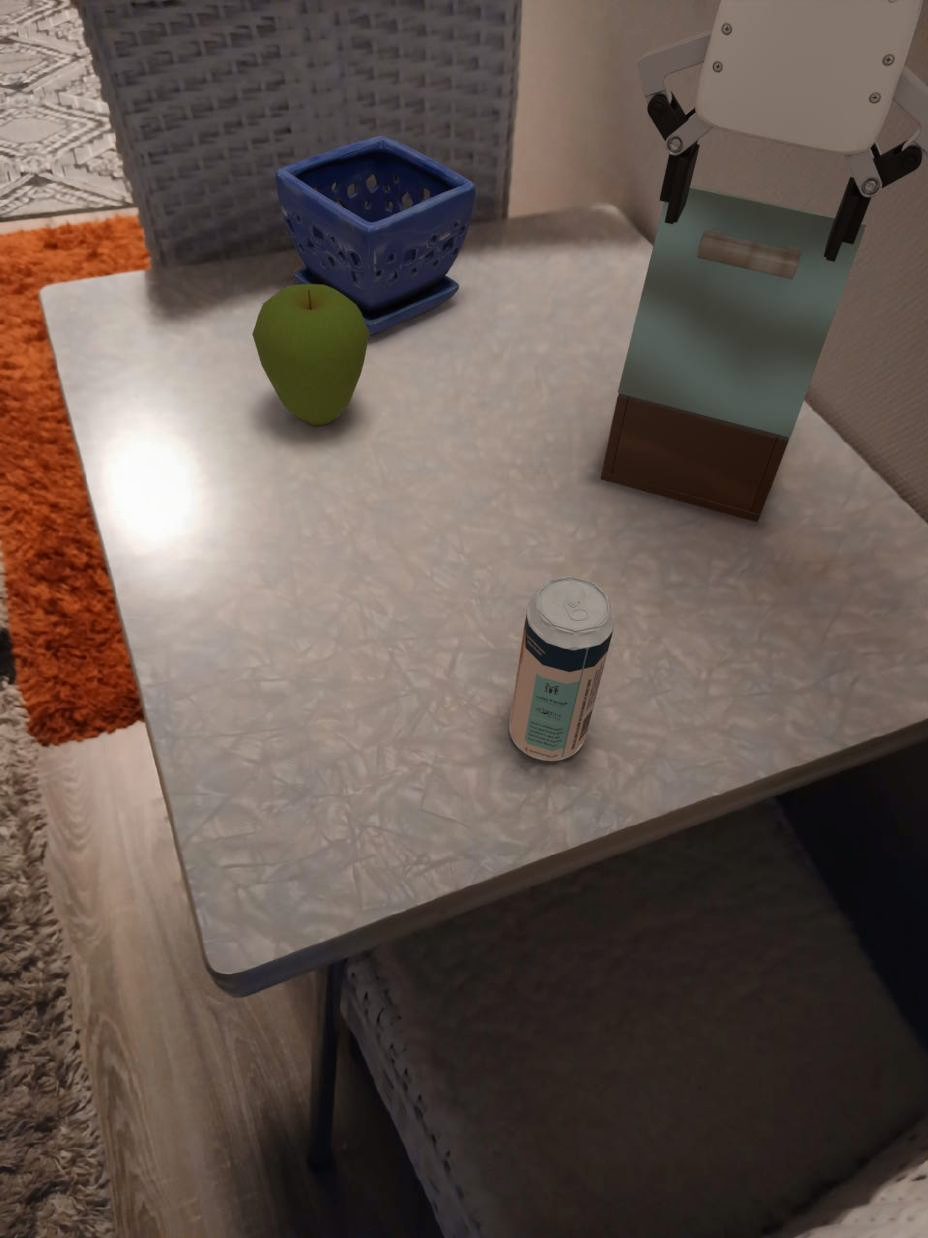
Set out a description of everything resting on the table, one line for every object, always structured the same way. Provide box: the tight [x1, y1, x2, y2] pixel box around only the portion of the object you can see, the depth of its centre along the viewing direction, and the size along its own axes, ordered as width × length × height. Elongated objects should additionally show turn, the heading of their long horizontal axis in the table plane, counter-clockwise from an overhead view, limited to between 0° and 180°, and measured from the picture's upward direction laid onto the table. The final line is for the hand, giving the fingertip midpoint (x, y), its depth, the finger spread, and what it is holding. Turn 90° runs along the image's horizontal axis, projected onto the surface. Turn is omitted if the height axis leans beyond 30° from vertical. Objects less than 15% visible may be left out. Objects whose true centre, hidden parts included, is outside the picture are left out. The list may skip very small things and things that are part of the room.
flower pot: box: [275, 135, 477, 335], centre depth 89 cm, size 13×13×12 cm
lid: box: [617, 184, 867, 438], centre depth 64 cm, size 14×13×6 cm
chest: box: [600, 393, 791, 523], centre depth 78 cm, size 14×13×8 cm
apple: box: [252, 284, 371, 427], centre depth 76 cm, size 9×8×12 cm
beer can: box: [508, 575, 616, 762], centre depth 56 cm, size 5×5×12 cm
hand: (751, 232), depth 59 cm, fingers open, 9 cm apart
